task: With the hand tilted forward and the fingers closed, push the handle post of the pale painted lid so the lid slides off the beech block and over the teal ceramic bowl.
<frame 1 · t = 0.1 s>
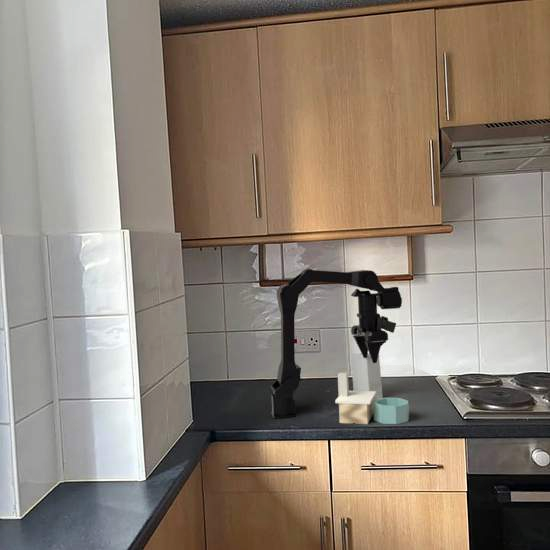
hand: (370, 360, 184), 15 cm above the counter, tool pointing down, fingers open, 9 cm apart
bowl: (391, 419, 171), on the counter
lid: (355, 386, 174), point 9 cm above the counter, slide at 0.0 cm
block: (357, 417, 174), on the counter
skincare box: (367, 399, 195), on the counter
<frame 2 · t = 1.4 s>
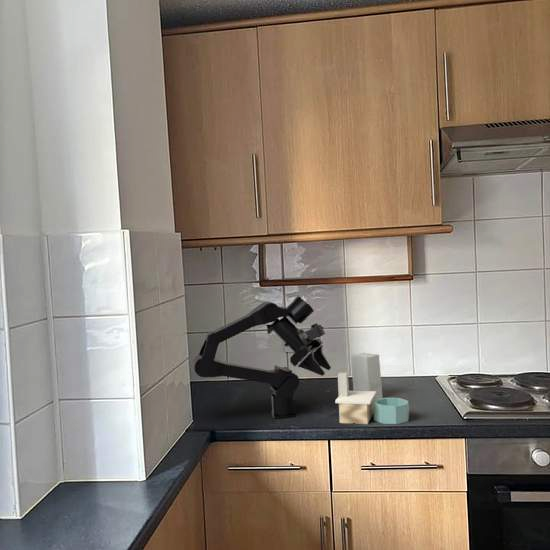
hand: (326, 371, 176), 13 cm above the counter, tool tilted 45°, fingers open, 8 cm apart
nothing on the counter moved.
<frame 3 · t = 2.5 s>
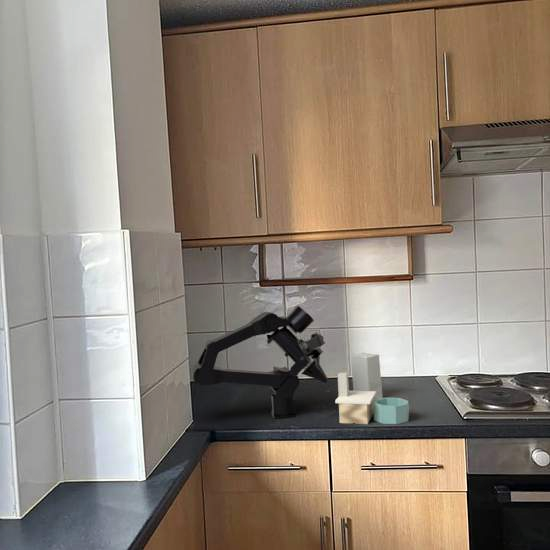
hand: (327, 381, 176), 11 cm above the counter, tool tilted 45°, fingers closed
nothing on the counter moved.
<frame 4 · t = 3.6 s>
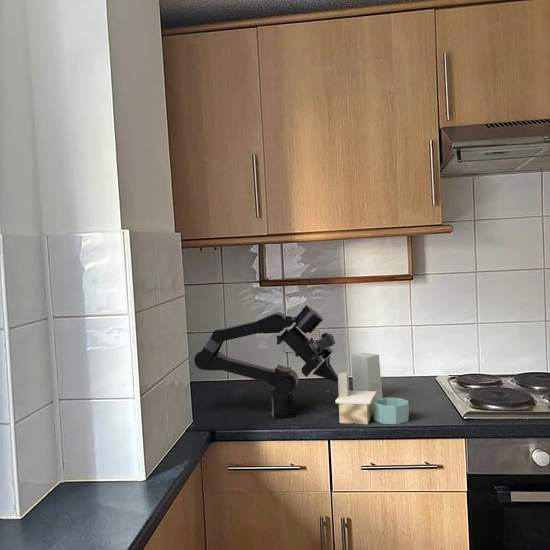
hand: (338, 381, 175), 11 cm above the counter, tool tilted 45°, fingers closed, pressing on lid
lid: (356, 386, 174), point 9 cm above the counter, slide at 0.1 cm, touching gripper
everything else where it was.
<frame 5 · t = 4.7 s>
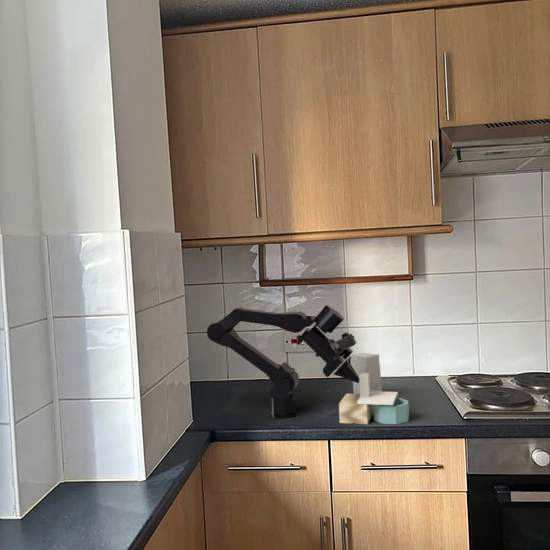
hand: (359, 381, 173), 11 cm above the counter, tool tilted 45°, fingers closed, pressing on lid
lid: (377, 386, 172), point 9 cm above the counter, slide at 6.4 cm, touching gripper
everything else where it was.
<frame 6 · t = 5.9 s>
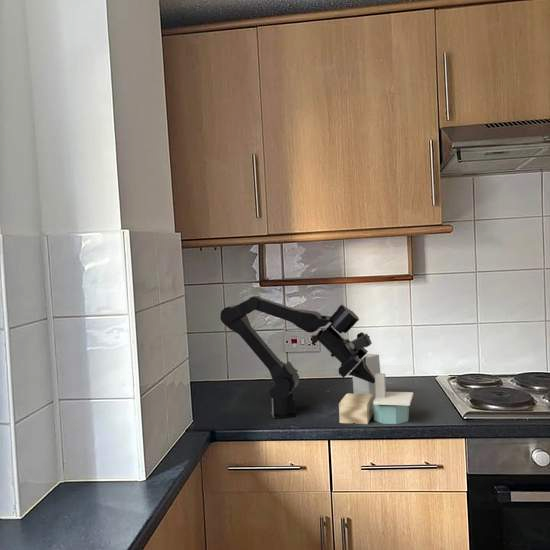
hand: (374, 382, 172), 11 cm above the counter, tool tilted 45°, fingers closed, pressing on lid
lid: (393, 387, 170), point 9 cm above the counter, slide at 10.9 cm, touching gripper
everything else where it was.
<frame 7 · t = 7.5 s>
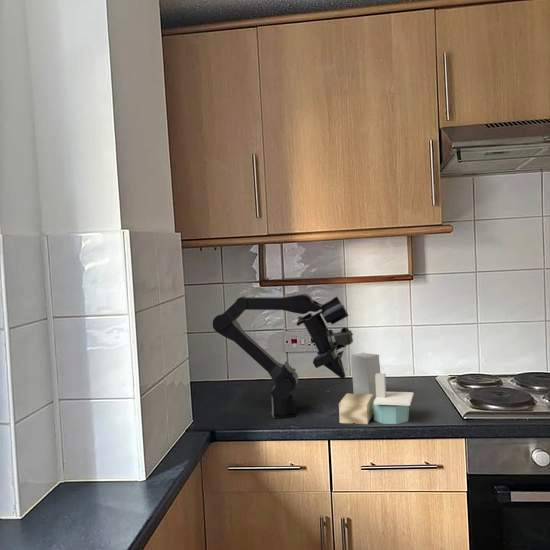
hand: (343, 377, 177), 11 cm above the counter, tool tilted 25°, fingers closed
lid: (393, 387, 170), point 9 cm above the counter, slide at 11.0 cm
everything else where it was.
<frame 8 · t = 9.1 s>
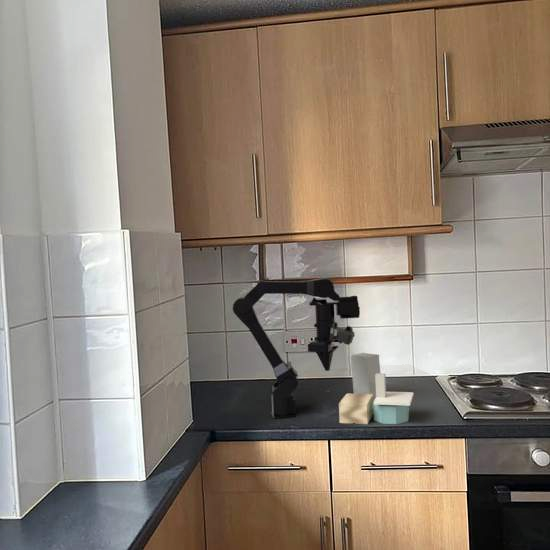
hand: (327, 370, 180), 13 cm above the counter, tool pointing down, fingers closed
nothing on the counter moved.
at the end: lid slide at 11.0 cm; the gripper is holding nothing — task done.
